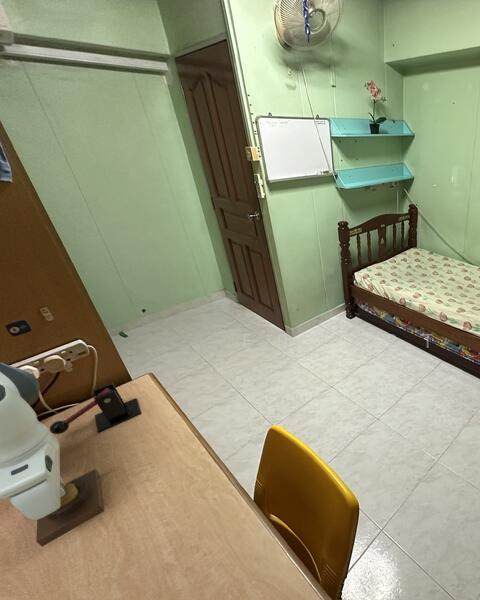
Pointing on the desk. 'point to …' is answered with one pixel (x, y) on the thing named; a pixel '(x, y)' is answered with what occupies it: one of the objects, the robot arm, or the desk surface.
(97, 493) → the brown button pad
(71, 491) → the bell button
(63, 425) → the lever
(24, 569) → the desk surface
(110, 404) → the black lever base
